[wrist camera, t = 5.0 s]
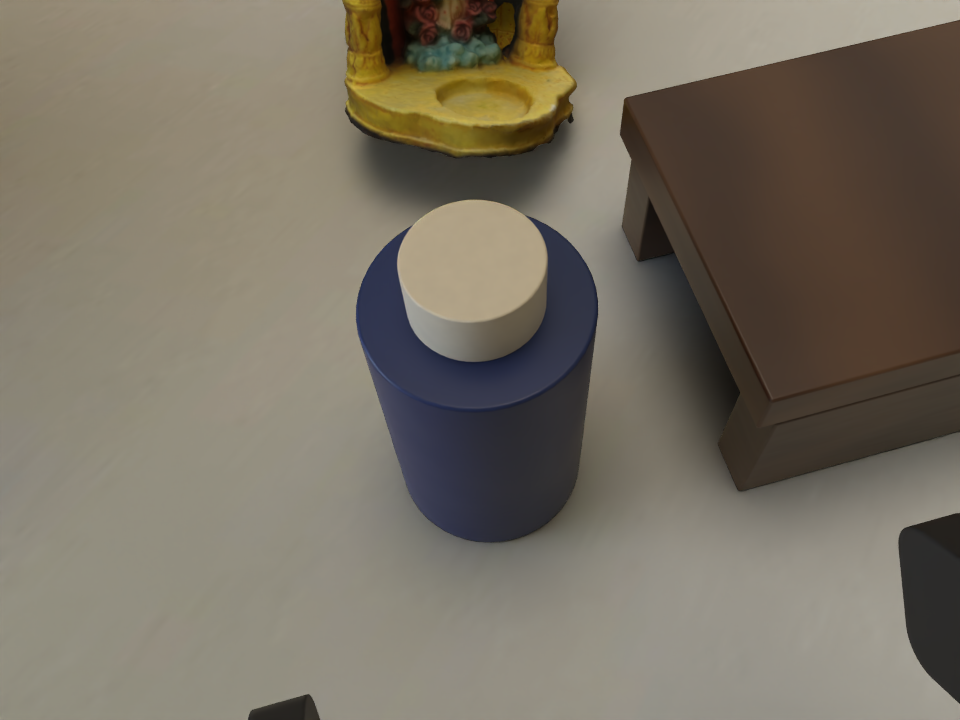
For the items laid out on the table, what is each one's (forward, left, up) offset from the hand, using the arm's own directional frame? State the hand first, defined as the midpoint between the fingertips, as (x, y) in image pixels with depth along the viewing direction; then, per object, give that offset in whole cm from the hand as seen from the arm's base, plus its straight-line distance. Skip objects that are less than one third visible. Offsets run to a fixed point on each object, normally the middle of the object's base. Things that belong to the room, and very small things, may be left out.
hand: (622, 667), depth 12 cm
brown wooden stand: (+12, +11, -12) cm, 20 cm away
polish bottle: (0, +9, -12) cm, 15 cm away
